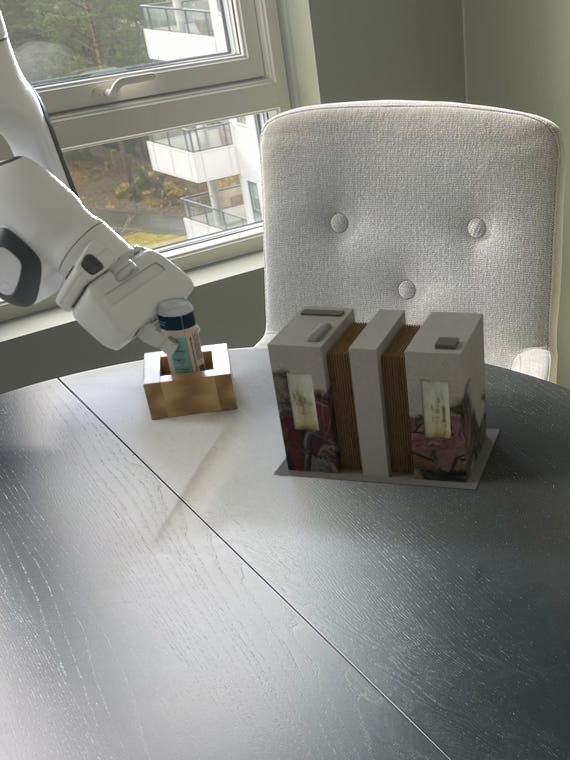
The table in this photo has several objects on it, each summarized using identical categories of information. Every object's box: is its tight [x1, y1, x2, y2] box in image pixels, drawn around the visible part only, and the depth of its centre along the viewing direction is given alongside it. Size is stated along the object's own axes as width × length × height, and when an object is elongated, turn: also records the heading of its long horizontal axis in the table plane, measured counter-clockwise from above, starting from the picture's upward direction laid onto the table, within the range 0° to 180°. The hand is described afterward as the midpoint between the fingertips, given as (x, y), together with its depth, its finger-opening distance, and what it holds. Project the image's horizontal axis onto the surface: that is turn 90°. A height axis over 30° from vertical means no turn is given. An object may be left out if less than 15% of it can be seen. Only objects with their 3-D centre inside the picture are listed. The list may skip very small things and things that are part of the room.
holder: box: [142, 342, 238, 420], centre depth 134 cm, size 11×11×5 cm
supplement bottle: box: [157, 298, 206, 375], centre depth 131 cm, size 5×5×12 cm
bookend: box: [267, 305, 501, 491], centre depth 116 cm, size 16×25×16 cm, turn 79°
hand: (186, 343), depth 131 cm, fingers closed on supplement bottle, 5 cm apart
